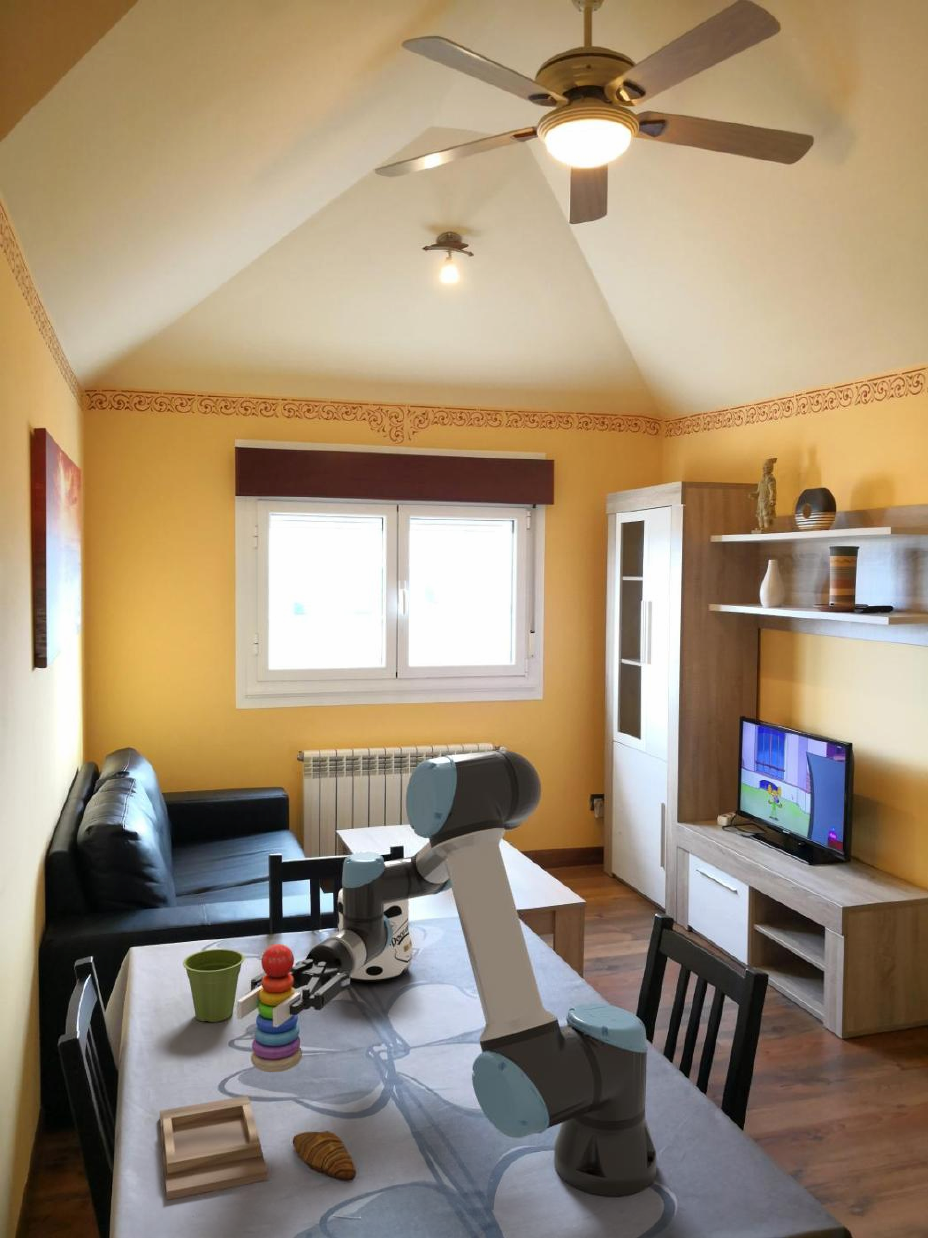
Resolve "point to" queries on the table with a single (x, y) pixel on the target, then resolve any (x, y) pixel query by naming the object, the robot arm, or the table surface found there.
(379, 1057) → the table surface
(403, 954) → the milk container
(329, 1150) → the croissant
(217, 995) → the plant pot
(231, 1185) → the toy stand
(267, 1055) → the stacking toy
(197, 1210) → the table surface
